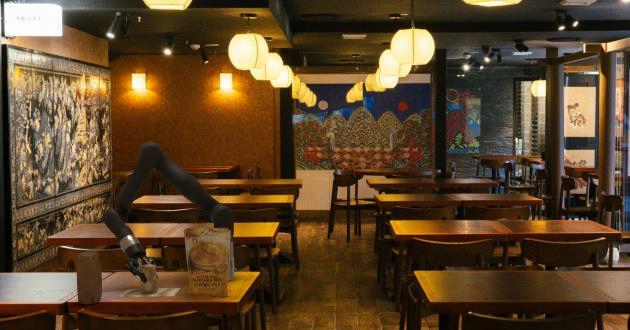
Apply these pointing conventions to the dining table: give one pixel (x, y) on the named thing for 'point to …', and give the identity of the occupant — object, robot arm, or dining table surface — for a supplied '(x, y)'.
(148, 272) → the tan tall block
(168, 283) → the dining table surface
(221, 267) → the pancake mix bag
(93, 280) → the block
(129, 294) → the birch board
